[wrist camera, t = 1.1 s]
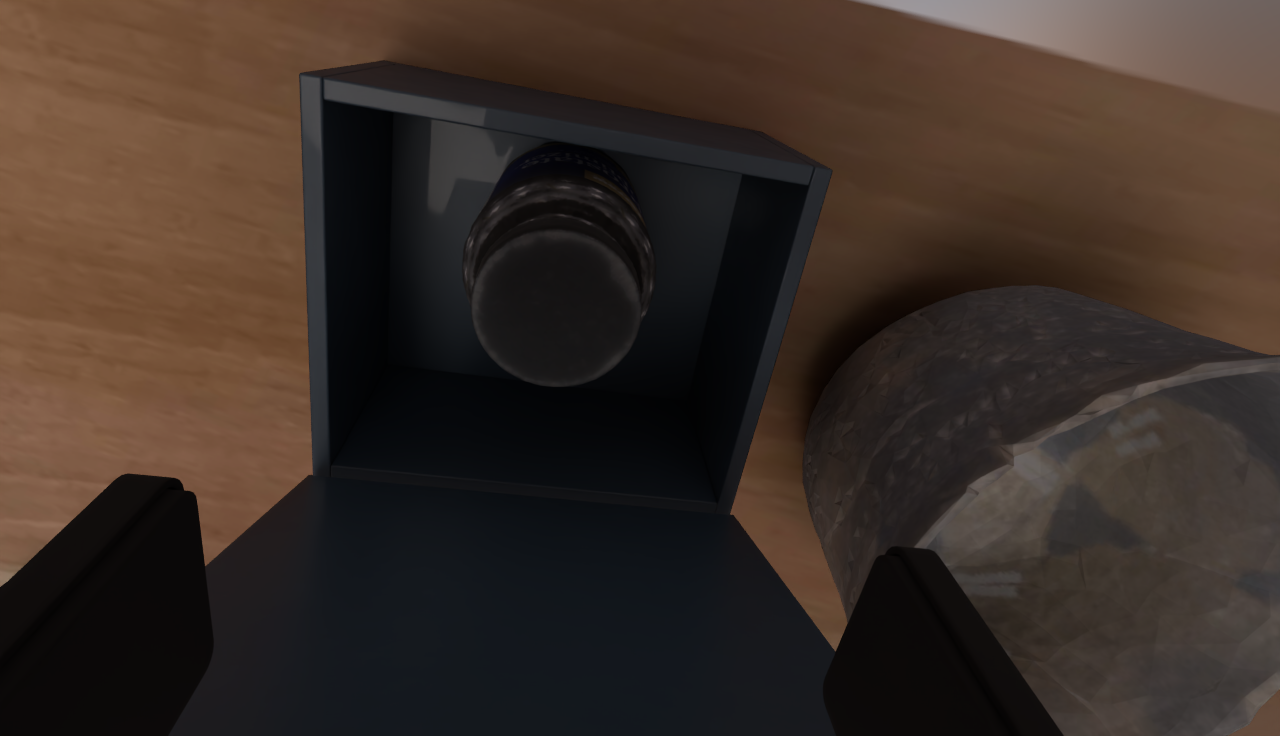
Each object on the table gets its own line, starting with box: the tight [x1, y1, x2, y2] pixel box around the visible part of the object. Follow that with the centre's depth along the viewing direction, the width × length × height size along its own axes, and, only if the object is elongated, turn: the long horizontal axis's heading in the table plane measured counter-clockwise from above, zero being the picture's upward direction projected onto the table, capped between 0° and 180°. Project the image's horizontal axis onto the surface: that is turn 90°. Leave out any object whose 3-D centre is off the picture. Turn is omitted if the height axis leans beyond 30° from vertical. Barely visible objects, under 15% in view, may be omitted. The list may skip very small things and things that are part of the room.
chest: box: [299, 61, 832, 515], centre depth 26 cm, size 13×15×9 cm
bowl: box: [803, 285, 1280, 736], centre depth 27 cm, size 18×18×15 cm
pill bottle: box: [462, 141, 657, 387], centre depth 23 cm, size 6×6×11 cm
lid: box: [168, 475, 836, 736], centre depth 18 cm, size 14×15×5 cm
